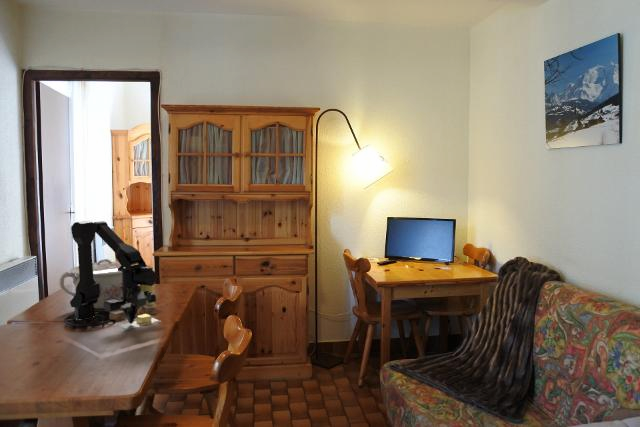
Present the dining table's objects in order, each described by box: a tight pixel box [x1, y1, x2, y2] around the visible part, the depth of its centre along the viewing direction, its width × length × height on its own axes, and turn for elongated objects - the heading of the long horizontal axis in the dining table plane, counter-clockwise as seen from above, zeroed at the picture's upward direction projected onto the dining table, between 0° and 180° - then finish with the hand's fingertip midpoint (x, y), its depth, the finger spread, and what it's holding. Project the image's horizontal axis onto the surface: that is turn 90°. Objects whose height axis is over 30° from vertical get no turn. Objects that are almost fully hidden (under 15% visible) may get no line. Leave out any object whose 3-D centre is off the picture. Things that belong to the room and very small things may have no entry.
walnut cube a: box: [109, 309, 126, 322], centre depth 197 cm, size 4×4×4 cm
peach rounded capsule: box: [136, 307, 143, 316], centre depth 205 cm, size 5×5×5 cm
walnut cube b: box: [143, 304, 157, 315], centre depth 206 cm, size 4×4×4 cm
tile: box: [135, 313, 152, 324], centre depth 193 cm, size 4×4×2 cm
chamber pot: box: [59, 258, 133, 310], centre depth 220 cm, size 28×28×21 cm
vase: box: [139, 285, 155, 308], centre depth 216 cm, size 6×6×14 cm
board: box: [118, 317, 161, 331], centre depth 192 cm, size 14×7×1 cm, turn 139°
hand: (131, 323), depth 189 cm, fingers closed
